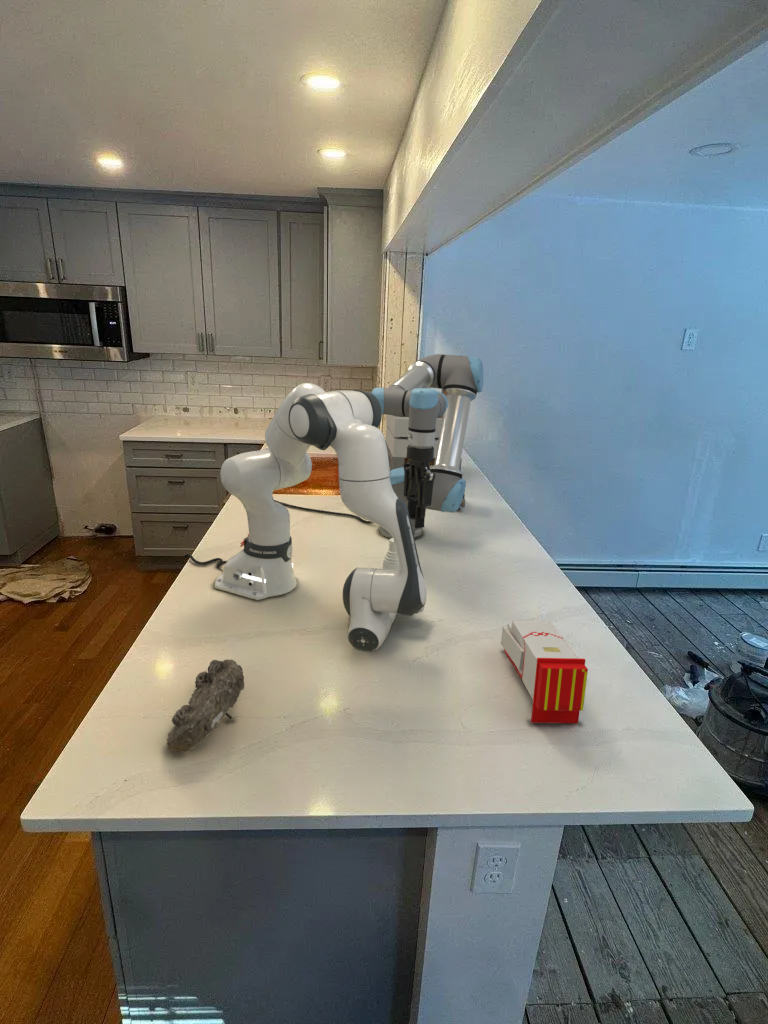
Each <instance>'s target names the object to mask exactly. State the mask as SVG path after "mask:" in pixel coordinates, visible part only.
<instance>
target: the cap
mask: <svg viewBox="0 0 768 1024" xmlns="http://www.w3.org/2000/svg"><path fill="white" fill-rule="evenodd" d="M410 520H411V524H412V526H415V515H413V516H410Z"/></svg>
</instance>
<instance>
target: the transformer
mask: <svg viewBox="0 0 768 1024" xmlns="http://www.w3.org/2000/svg"><path fill="white" fill-rule="evenodd" d="M440 392H441V393H443V389H441V391H440ZM442 418H443V415H442V416H441V417H439V418H437V419H436V429H435V445H434V446H433V448H434V457H433V460H432V461H430V463H429V466H430V467H432V466H434V463H435V457H436V452H437V446H438V440H439V435H440V429H441V424H442ZM385 423H386V428H385V437H384V438H385V442H386V446H387V452H388V458H389V467H390V471H391V470H393V469H396V468H402V467H404V463H409V461H410V460H408V459H407V446H408V445H409V444H408V426H409V417H407V416H397V415H386V414H385ZM462 461H463V460H462V457H461V460H460V466H459V470H460V471H461V472H462Z"/></svg>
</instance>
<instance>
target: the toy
mask: <svg viewBox="0 0 768 1024" xmlns="http://www.w3.org/2000/svg"><path fill="white" fill-rule="evenodd" d="M500 645H501V646H502V648H503V652H504V654H505V655H506V657H507V658H508V660H509V661H510V663H511V664H512V666H513V668H514V669H515V671H516V672H517V674H518V676H519V677H520V679H521V680H522V683H523V685H524V686H525V688H526V690H527V692H528V694H529V696H530V697H531V699H532V708H531V719H530V722H531V723H532V724H579V719H580V712H583V711H584V706H585V697H586V689H587V680H588V671H589V669H588V667H587V666H586V659H585V658H580V657H579V656H578V655H577V654H576V652H575V651H574V650H573V648H572V647H571V646H570V645H569V644H568V642H567V641H566V640H565V638H564V637H563V636H562V634H561V633H560V632H559V631H558V630H557V628H556V627H555V626H554V624H553V623H552V622H551V621H549V620H548V621H545V620H540V621H539V620H511V622H508V623H507V626H502V632H501V638H500Z"/></svg>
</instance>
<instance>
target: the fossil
mask: <svg viewBox="0 0 768 1024" xmlns="http://www.w3.org/2000/svg"><path fill="white" fill-rule="evenodd" d="M243 670H244V669H243V667H242V665H240V664H237V662H236V661H235V660H234V659H232V658H231V659H227V658H226V659H224V660H223V661H222V660H217V659H212V660H211V661H210V663H209V665H208V666H207V671H201V672H199V673H198V674H197V675H196V676H195V680H194V684H195V685H194V687H195V689H194V690H193V693H192V694H191V697H190V698H189V700H188V704H184V705H182V706H181V707H180V709H177V710H176V711H175V713H174V715H173V716H172V718H171V723H172V724H173V727H172V730H171V731H170V732H168V734H167V738H166V741H167V742H166V745H167V749H168V750H169V751H173V752H174V753H176V754H178V753H182V752H188V751H189V752H192V751H193V750H195V748H196V747H197V746H199V744H200V743H201V742H203V741H204V740H205V739H206V738H207V737H208V736H209V735H210V734H211V733H212V732H214V730H215V729H217V727H218V726H219V724H220V722H221V721H222V720H223V719H224V718H225V716H226V717H227V719H229V720H233V717H232V715H230V714H229V710H230V709H231V708H234V706H235V704H236V703H237V702H238V699H239V697H240V695H241V693H242V691H243V690H245V689H244V688H245V675H244V671H243Z"/></svg>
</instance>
